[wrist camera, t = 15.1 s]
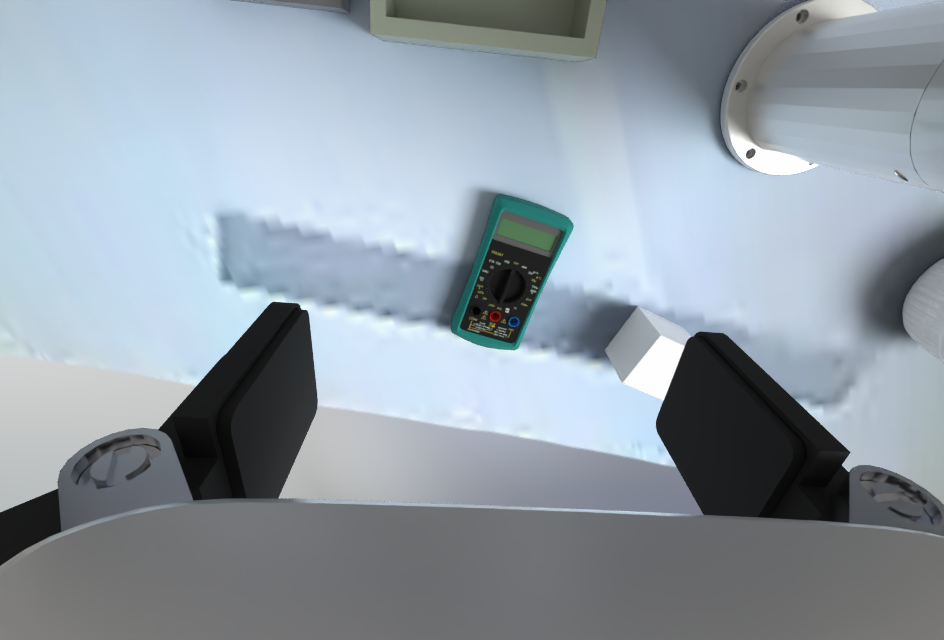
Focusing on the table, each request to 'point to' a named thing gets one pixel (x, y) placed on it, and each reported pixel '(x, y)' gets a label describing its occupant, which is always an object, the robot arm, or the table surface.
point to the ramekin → (927, 310)
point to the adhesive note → (647, 352)
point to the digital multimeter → (509, 272)
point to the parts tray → (494, 25)
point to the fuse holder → (309, 4)
